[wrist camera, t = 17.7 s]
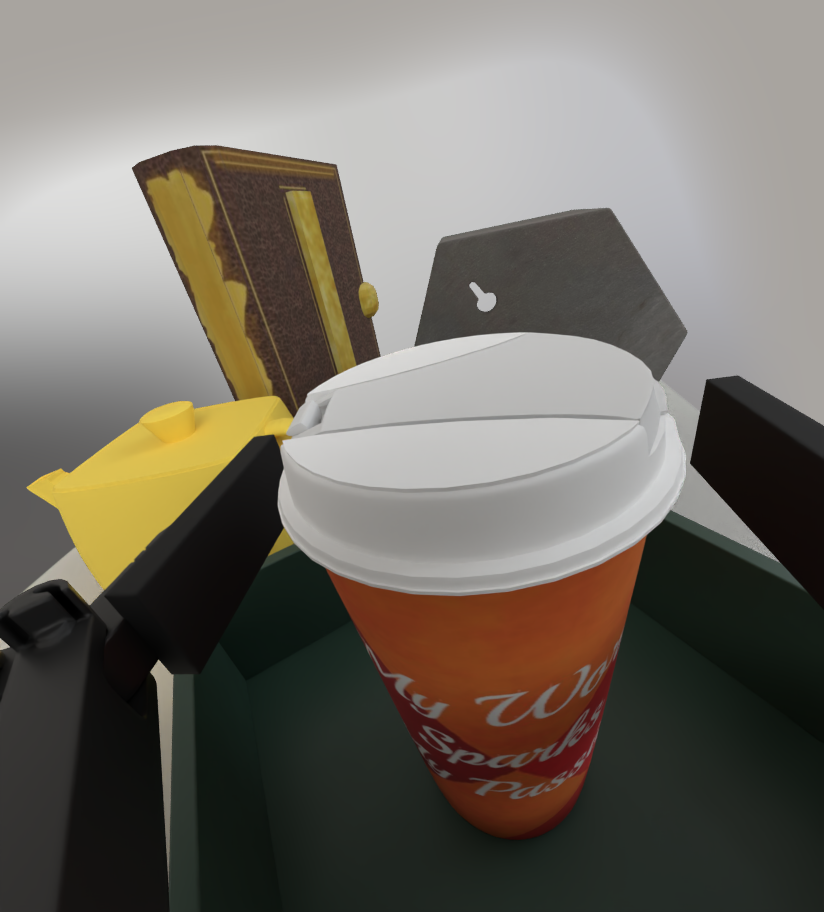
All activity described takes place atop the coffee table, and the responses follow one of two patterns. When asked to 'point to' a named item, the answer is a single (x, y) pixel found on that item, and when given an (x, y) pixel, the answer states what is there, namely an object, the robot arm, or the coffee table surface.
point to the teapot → (154, 477)
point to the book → (265, 265)
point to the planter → (552, 286)
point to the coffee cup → (488, 547)
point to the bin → (444, 830)
